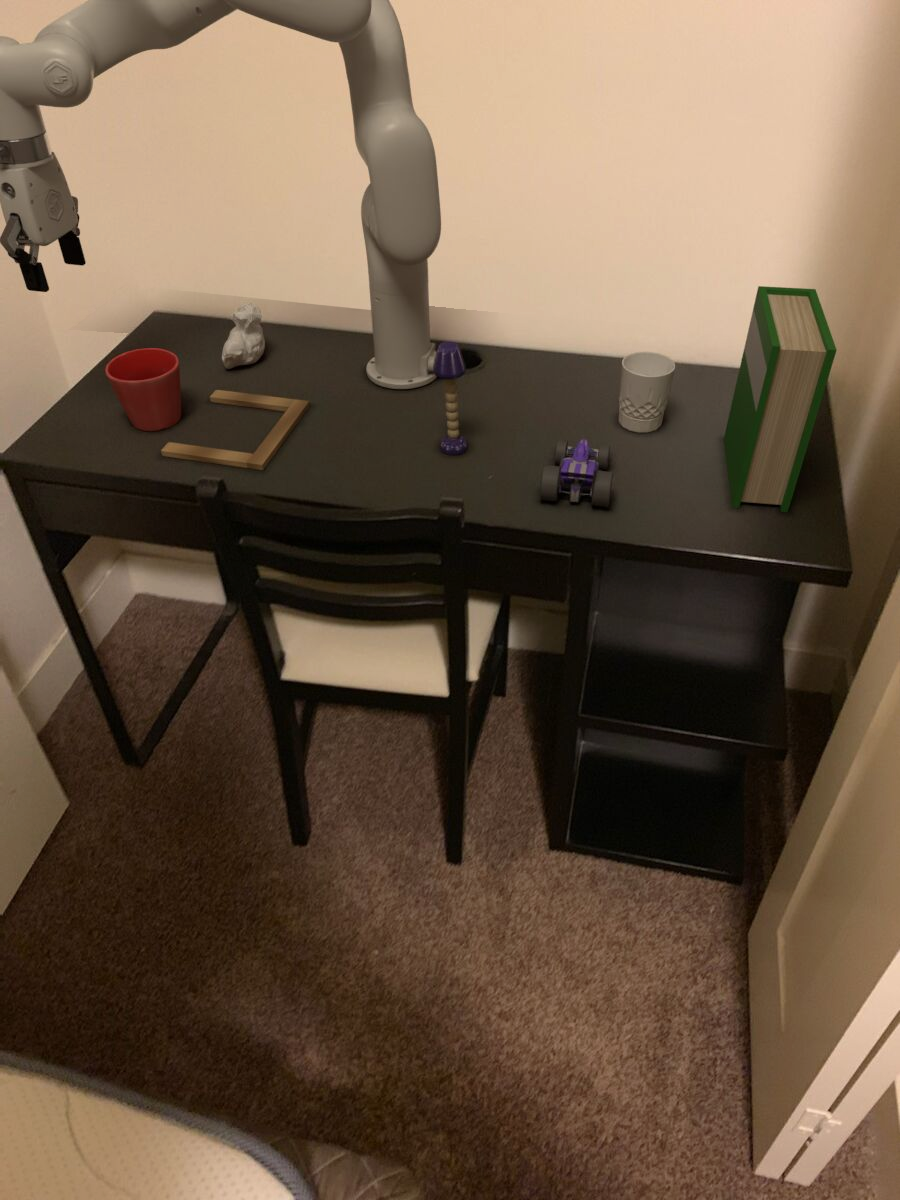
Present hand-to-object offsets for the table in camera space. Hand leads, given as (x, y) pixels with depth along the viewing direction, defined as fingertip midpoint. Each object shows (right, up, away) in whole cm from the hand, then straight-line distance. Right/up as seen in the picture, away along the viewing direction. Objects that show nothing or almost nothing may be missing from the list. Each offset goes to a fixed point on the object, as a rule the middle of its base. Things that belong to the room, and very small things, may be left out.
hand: (57, 276), depth 128 cm
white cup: (+86, -19, +12) cm, 89 cm away
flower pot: (+10, -18, +15) cm, 25 cm away
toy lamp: (+57, -23, +7) cm, 62 cm away
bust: (+21, -4, +29) cm, 36 cm away
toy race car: (+75, -29, +1) cm, 81 cm away
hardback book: (+101, -28, +1) cm, 105 cm away
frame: (+23, -20, +12) cm, 33 cm away
